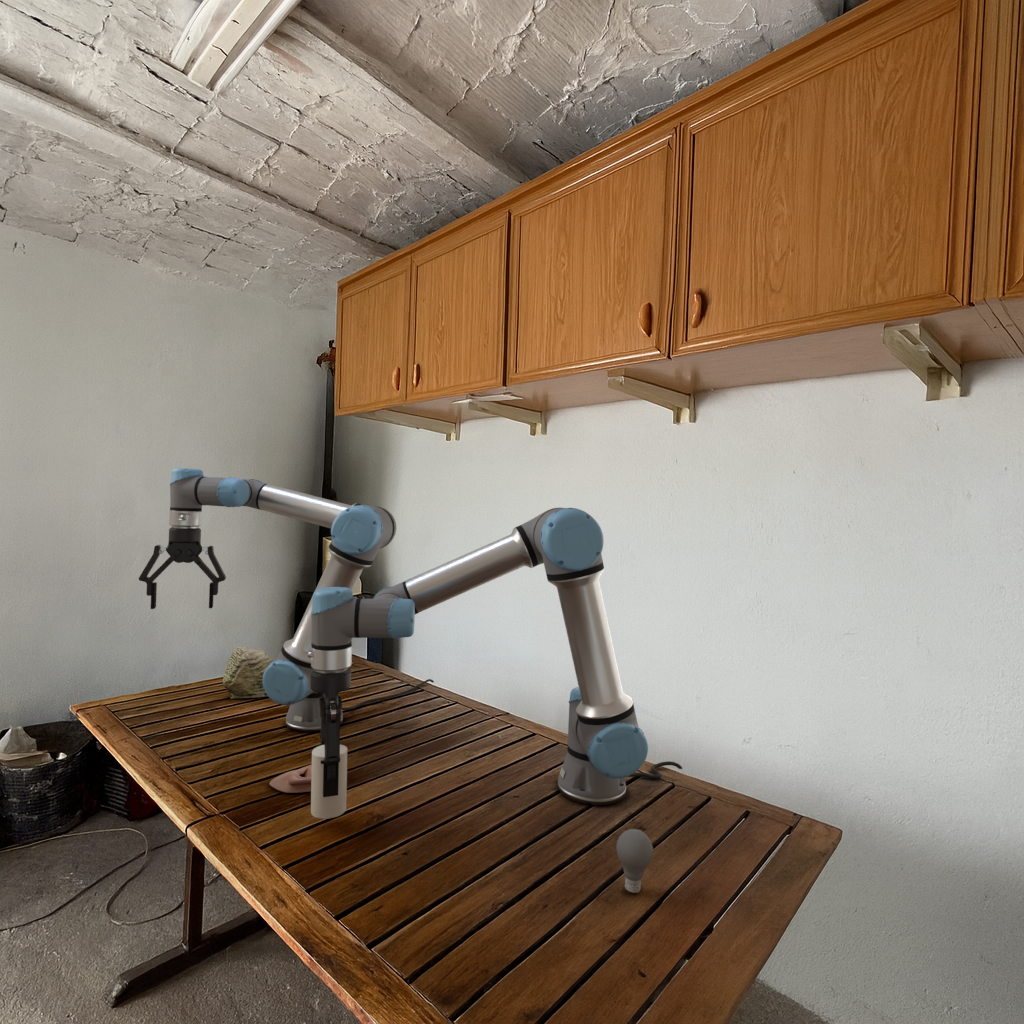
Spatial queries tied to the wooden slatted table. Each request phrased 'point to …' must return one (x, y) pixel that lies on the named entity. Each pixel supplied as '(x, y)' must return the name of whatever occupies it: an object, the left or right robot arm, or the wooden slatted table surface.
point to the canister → (320, 804)
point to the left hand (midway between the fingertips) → (182, 607)
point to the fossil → (246, 673)
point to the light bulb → (634, 857)
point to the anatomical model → (294, 781)
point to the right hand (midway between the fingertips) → (329, 786)
